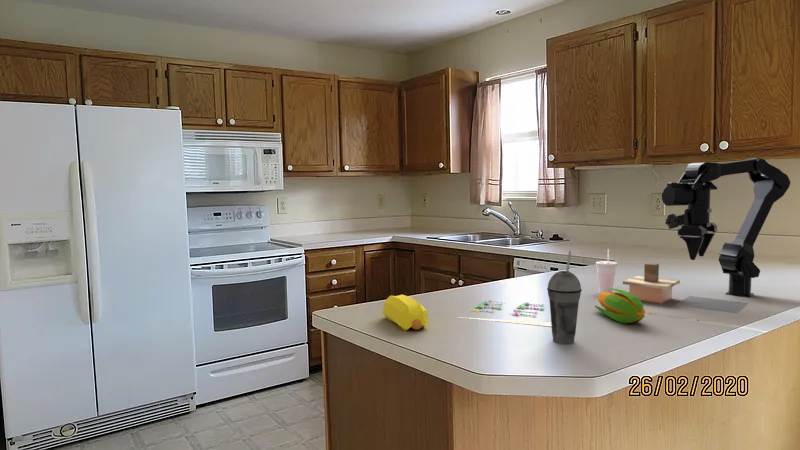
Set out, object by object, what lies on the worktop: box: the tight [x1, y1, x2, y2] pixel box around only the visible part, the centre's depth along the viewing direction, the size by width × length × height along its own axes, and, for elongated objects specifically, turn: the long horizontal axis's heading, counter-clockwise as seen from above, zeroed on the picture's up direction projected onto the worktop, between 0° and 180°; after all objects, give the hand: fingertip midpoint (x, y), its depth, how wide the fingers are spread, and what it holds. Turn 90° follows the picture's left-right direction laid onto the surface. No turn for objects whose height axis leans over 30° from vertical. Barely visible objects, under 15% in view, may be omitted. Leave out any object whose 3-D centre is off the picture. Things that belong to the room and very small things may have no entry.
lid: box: [622, 262, 681, 289], centre depth 157 cm, size 12×12×6 cm
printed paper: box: [458, 300, 552, 328], centre depth 150 cm, size 30×30×2 cm
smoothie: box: [595, 248, 618, 294], centre depth 168 cm, size 6×6×14 cm
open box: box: [628, 285, 673, 305], centre depth 157 cm, size 9×9×5 cm
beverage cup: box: [546, 250, 583, 345], centre depth 118 cm, size 7×7×20 cm
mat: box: [674, 295, 749, 314], centre depth 150 cm, size 15×15×1 cm
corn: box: [594, 287, 646, 325], centre depth 138 cm, size 7×8×20 cm
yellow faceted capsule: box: [382, 294, 429, 331], centre depth 135 cm, size 18×7×8 cm
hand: (697, 258), depth 159 cm, fingers open, 9 cm apart
